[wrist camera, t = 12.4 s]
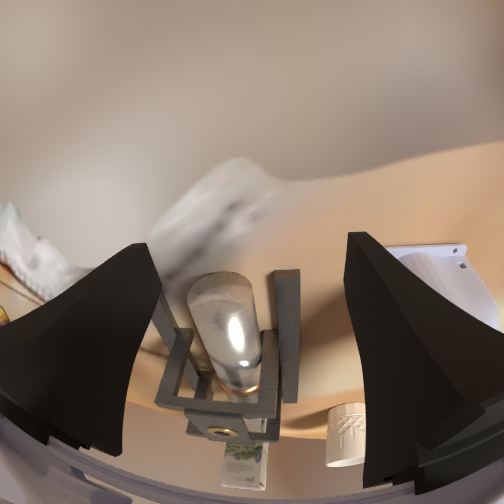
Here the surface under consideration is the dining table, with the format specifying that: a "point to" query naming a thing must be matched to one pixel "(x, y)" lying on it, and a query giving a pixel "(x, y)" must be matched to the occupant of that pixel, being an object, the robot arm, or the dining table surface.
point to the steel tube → (229, 332)
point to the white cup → (346, 435)
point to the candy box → (3, 317)
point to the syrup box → (246, 461)
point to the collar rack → (182, 362)
